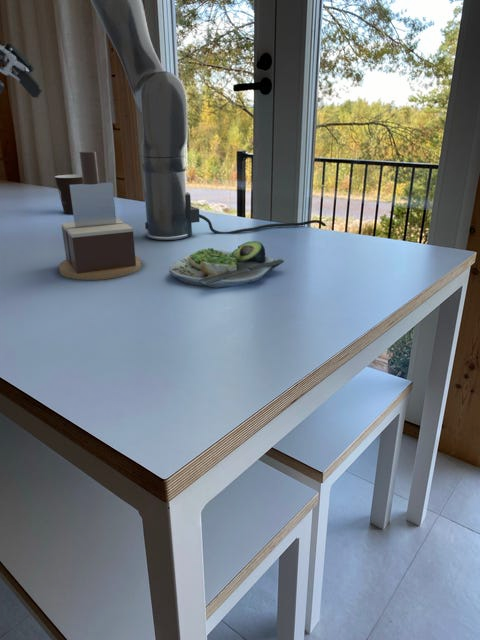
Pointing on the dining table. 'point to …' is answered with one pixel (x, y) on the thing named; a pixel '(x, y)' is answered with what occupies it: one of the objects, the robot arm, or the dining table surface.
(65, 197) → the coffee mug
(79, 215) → the cake cutter
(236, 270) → the salad plate
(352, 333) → the dining table surface
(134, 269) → the cake
